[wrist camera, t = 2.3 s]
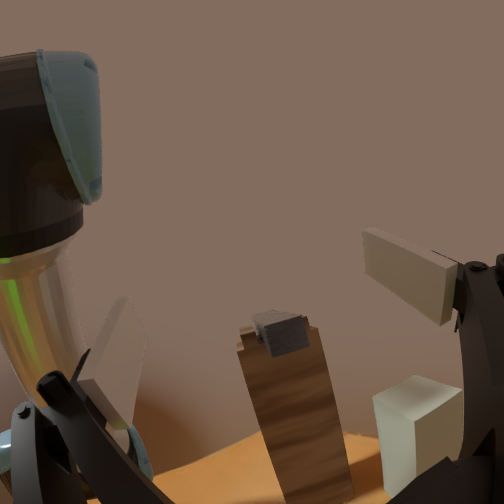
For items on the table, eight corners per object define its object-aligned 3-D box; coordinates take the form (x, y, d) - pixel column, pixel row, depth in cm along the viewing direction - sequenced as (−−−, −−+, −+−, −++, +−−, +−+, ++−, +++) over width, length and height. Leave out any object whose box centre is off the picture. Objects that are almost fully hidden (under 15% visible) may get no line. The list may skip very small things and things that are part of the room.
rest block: (455, 495, 18) (462, 389, 21) (413, 522, 17) (414, 421, 20) (421, 469, 27) (415, 374, 30) (384, 490, 27) (372, 396, 30)
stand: (354, 497, 28) (313, 314, 33) (292, 518, 27) (232, 337, 32) (335, 469, 38) (296, 311, 43) (283, 486, 37) (233, 329, 42)
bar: (310, 346, 24) (301, 314, 24) (272, 357, 24) (263, 326, 24) (276, 327, 46) (271, 309, 46) (256, 332, 45) (251, 315, 46)
